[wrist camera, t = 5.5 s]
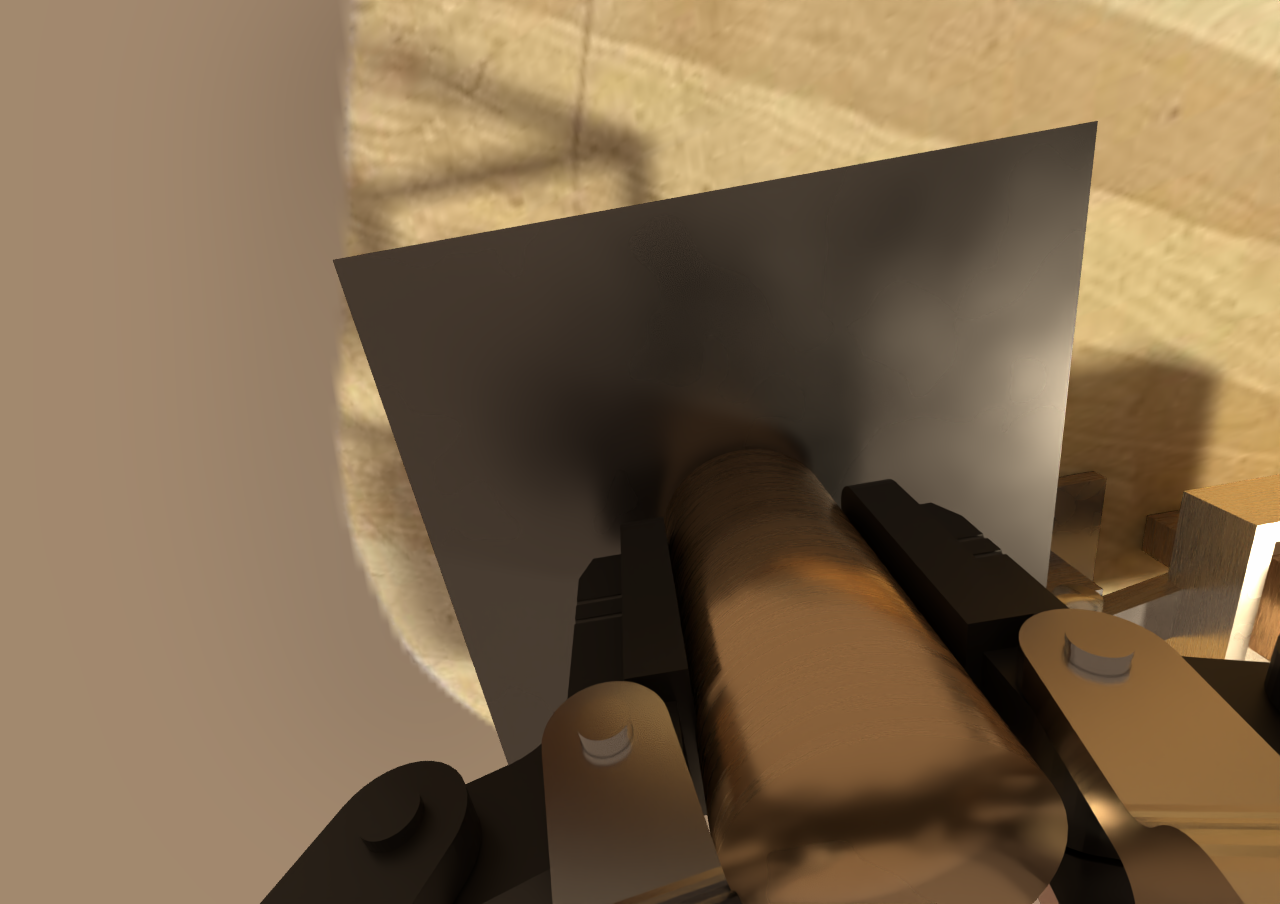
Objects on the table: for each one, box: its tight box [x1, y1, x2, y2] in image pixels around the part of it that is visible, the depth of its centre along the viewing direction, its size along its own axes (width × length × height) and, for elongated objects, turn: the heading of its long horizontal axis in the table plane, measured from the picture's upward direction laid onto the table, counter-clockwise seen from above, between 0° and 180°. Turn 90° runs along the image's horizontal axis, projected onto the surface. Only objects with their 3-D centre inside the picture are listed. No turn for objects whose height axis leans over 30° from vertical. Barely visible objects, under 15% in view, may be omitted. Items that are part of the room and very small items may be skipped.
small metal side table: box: [333, 121, 1098, 904], centre depth 13 cm, size 11×11×17 cm
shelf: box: [1046, 471, 1280, 662], centre depth 24 cm, size 11×31×11 cm, turn 100°
